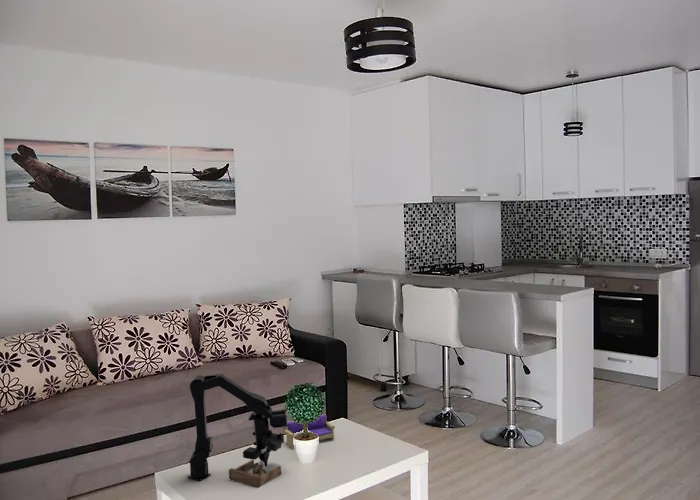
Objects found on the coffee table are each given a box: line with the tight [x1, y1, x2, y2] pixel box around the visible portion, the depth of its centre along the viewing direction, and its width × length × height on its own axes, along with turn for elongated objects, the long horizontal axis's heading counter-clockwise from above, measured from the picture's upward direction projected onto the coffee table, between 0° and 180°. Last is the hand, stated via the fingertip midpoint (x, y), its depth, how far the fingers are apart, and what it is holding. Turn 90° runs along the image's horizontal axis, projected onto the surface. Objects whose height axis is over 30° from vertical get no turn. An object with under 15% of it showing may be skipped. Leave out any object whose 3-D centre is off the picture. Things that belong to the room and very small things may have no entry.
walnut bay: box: [228, 459, 282, 488], centre depth 240 cm, size 14×15×4 cm
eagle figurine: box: [248, 460, 268, 476], centre depth 239 cm, size 8×7×9 cm
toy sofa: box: [284, 413, 336, 450], centre depth 276 cm, size 21×9×10 cm, turn 116°
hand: (265, 466), depth 245 cm, fingers closed
